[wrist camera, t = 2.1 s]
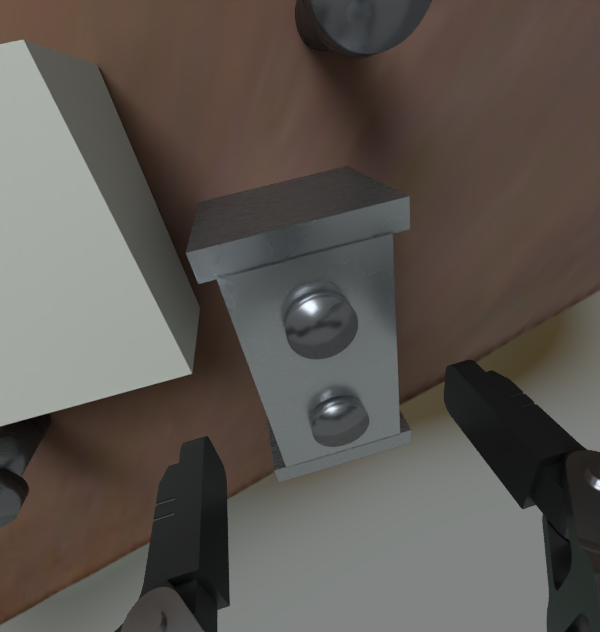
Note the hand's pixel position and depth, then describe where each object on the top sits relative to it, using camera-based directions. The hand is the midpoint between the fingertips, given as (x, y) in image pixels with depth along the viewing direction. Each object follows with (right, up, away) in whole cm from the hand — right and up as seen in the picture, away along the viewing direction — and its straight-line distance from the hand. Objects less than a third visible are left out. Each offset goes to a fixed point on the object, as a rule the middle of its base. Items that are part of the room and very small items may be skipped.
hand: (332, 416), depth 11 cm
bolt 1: (-16, -2, +8) cm, 18 cm away
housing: (-1, +4, +7) cm, 8 cm away
